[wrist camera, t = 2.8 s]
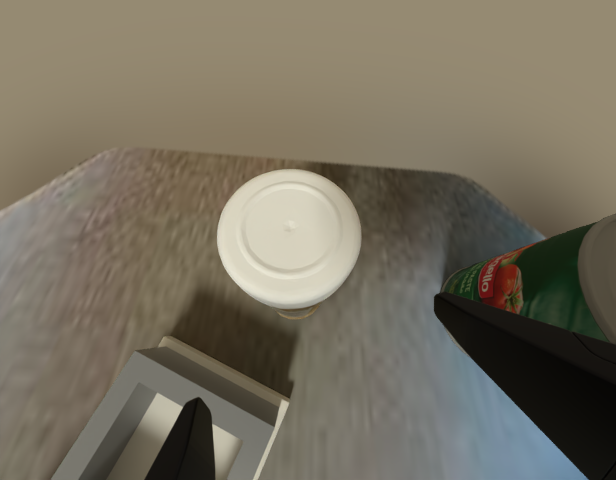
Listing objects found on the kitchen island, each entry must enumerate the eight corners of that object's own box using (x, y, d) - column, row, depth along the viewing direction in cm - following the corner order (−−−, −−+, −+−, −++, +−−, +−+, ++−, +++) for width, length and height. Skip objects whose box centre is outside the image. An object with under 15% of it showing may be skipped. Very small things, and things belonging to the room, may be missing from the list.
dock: (289, 398, 17) (287, 421, 13) (213, 582, 14) (177, 691, 10) (170, 335, 18) (133, 337, 14) (74, 492, 15) (-12, 556, 11)
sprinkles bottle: (333, 290, 20) (395, 225, 7) (294, 333, 19) (289, 342, 6) (294, 253, 21) (290, 140, 8) (254, 291, 20) (180, 226, 7)
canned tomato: (449, 252, 22) (588, 183, 11) (539, 288, 21) (776, 250, 11) (428, 340, 19) (582, 354, 9) (529, 386, 18) (831, 461, 8)
